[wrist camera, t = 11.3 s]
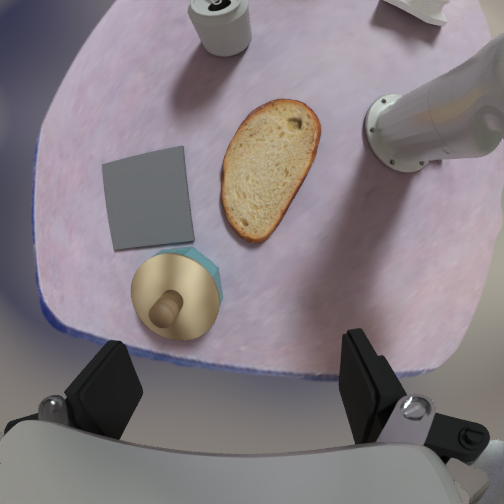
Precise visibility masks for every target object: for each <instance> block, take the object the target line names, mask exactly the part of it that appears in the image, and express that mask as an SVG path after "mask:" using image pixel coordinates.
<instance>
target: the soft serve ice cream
mask: <svg viewBox="0 0 504 504" xmlns="http://www.w3.org/2000/svg"><path fill="white" fill-rule="evenodd" d="M384 1H386V2H388V3H390V4H392V5H394V6H397V7H399V8H401V9H403V10H404V11H406V12H408V13H410V14H412V15H414V16H416V17H418V18H419V19H421V20H423V21H425V22H426V23H430V24H434V25H438V26H442V27H443V26H444V25H445V24H446V23H447V20H446V18H445V16H444V13H443V11H442V7H443V6H444V5H446V4H448V3H449V1H450V0H384Z"/></svg>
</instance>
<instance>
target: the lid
mask: <svg viewBox="0 0 504 504" xmlns="http://www.w3.org/2000/svg"><path fill="white" fill-rule="evenodd" d="M131 298H132V303H133V306H134V308H135V311H136V313H137V314H138V316H139V318H140V319H141V320H142V322H143V323H144V324H145V325H146V326H147V327H148V328H150V329H151V330H152V331H154V332H155V333H157V334H159V335H160V336H163V337H165V338H168V339H172V340H180V341H184V340H191V339H195V338H197V337H200V336H201V335H203V334H204V333H206V332H207V331H208V330H209V329H210V328H211V327H212V325H213V324H214V322H215V320H216V318H217V315H218V312H219V307H220V296H219V291H218V288H217V285H216V283H215V281H214V279H213V277H212V276H211V274H210V273H209V272H208V271H207V269H206V268H205V267H203V266H202V265H201V264H200V263H199V262H197V261H196V260H194V259H192V258H190V257H188V256H185V255H182V254H178V253H163V254H159V255H156V256H154V257H152V258H150V259H148V260H147V261H146V262H144V263H143V264H142V265H141V266H140V267H139V268H138V269H137V271H136V273H135V275H134V277H133V280H132V284H131Z"/></svg>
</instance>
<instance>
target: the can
mask: <svg viewBox="0 0 504 504" xmlns="http://www.w3.org/2000/svg"><path fill="white" fill-rule="evenodd" d="M188 14H189V17H190V19H191V21H192V23H193V25H194V27H195V29H196V31H197V33H198V35H199V37H200V40H201V42H202V44H203V46H204V48H205V49H206V50H207V51H208V52H209V53H211V54H213V55H216V56H221V57H222V56H232V55H235V54H238V53H240V52H242V51H243V50H245V49H246V47H247V46H248V45H249V43H250V41H251V24H250V14H249V4H248V0H191V1H190V4H189V6H188Z"/></svg>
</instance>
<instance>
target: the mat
mask: <svg viewBox="0 0 504 504" xmlns="http://www.w3.org/2000/svg"><path fill="white" fill-rule="evenodd" d="M102 171H103V181H104V190H105V198H106V206H107V213H108V219H109V226H110V231H111V237H112V242H113V248H114V250H115V249H124V248H132V247H141V246H150V245H159V244H168V243H177V242H186V241H194V240H195V238H194V231H193V224H192V216H191V209H190V201H189V193H188V185H187V176H186V167H185V157H184V147H183V146H178V147H173V148H168V149H163V150H158V151H154V152H149V153H145V154H141V155H136V156H132V157H128V158H124V159H121V160H117V161H113V162H110V163H106V164H102Z"/></svg>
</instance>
